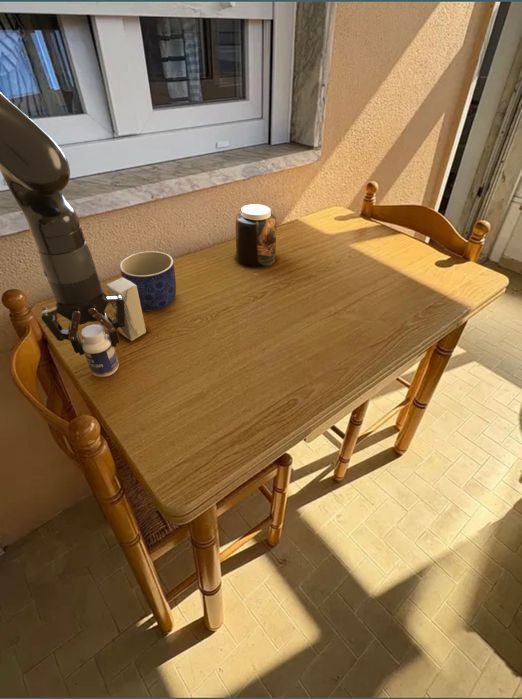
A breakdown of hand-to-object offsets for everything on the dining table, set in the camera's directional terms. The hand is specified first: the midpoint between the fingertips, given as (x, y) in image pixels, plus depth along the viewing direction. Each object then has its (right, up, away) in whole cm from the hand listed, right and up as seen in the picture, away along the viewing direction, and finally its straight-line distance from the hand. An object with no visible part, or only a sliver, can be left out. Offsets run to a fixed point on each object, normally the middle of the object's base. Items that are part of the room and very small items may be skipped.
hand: (98, 348), depth 73 cm
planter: (+4, +12, +24) cm, 27 cm away
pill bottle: (0, -4, +4) cm, 6 cm away
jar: (+30, +27, +42) cm, 58 cm away
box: (+2, +3, +14) cm, 15 cm away
